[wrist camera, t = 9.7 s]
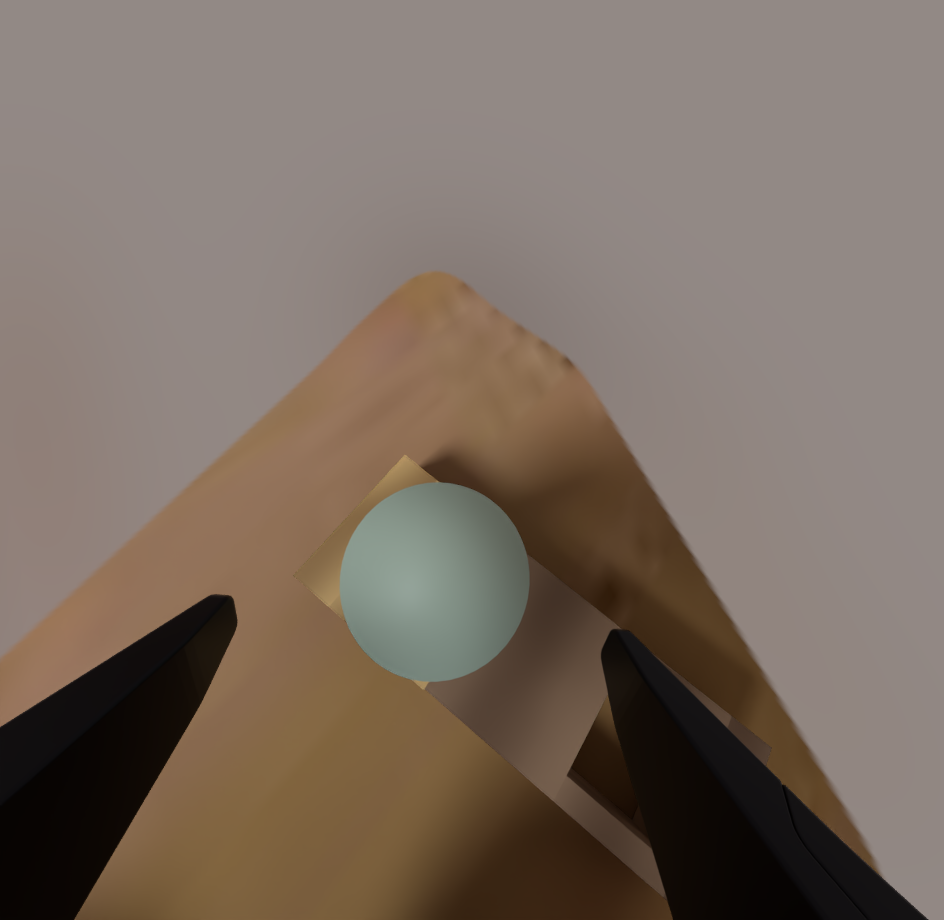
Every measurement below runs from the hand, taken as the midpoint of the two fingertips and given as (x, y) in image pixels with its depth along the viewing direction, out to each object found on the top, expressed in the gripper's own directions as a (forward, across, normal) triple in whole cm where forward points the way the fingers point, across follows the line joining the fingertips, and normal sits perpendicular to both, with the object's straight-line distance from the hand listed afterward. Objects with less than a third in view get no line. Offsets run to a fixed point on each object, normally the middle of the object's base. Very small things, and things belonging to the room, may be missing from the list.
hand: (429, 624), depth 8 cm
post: (+8, 0, +7) cm, 11 cm away
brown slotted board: (+6, -5, +9) cm, 12 cm away
